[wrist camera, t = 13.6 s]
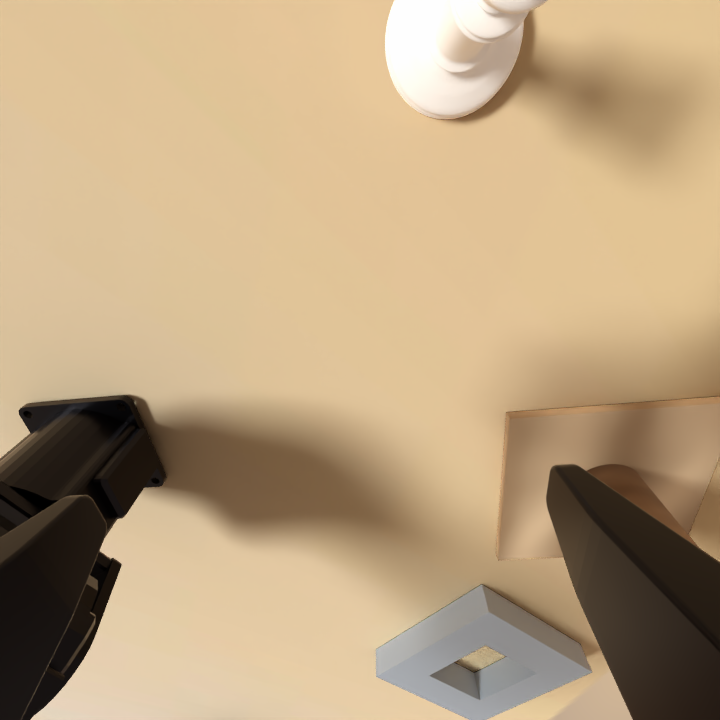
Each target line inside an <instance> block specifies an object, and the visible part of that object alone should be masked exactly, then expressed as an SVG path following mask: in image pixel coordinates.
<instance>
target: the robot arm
mask: <svg viewBox="0 0 720 720" xmlns="http://www.w3.org/2000/svg"><path fill="white" fill-rule="evenodd" d="M121 404H123V405H125V407H124V406H122V405H121ZM19 415H20V417H21V418H22V420H23V421H24V423H25V425H26V426H27V428H28V430H29V431H30V434H29V435H28V436H27V437H25V438H24V439H23V440H22V441H21V442H19V443H18V444H17V445H16V446H15V447H13V448H12V449H11V450H10V451H9V452H7V453H6V454H5V455H4V456H3V457H2V458H0V720H30V719H31V718H32V717H33V716H34V715H35V714H36V713H38V712H39V711H40V710H41V709H43V708H44V707H45V706H46V705H47V704H48V703H49V702H50V701H51V700H52V699H53V698H54V697H55V696H56V695H57V694H58V692H59V691H60V690H61V689H62V688H63V687H64V686H65V684H66V683H67V682H68V680H69V679H70V678H71V677H72V675H73V674H74V673H75V671H76V670H77V668H78V667H79V665H80V664H81V662H82V661H83V659H84V657H85V655H86V654H87V652H88V650H89V648H90V646H91V644H92V642H93V640H94V637H95V635H96V632H97V630H98V627H99V624H100V622H101V619H102V616H103V613H104V611H105V608H106V605H107V603H108V600H109V597H110V595H111V592H112V589H113V587H114V584H115V581H116V579H117V576H118V573H119V571H120V568H121V565H122V564H121V563H120V562H118V561H117V560H115V559H114V558H111V559H110V558H109V557H107V556H106V555H105V554H103V553H102V552H100V551H99V550H100V548H101V545H102V543H103V540H104V538H105V537H106V535H107V534H108V532H109V531H110V529H111V528H112V526H113V525H114V523H115V522H116V520H117V519H119V518H123V517H124V516H125V515H126V514H127V512H128V511H129V509H130V508H131V506H132V505H133V503H134V502H135V500H136V499H137V497H138V496H139V494H140V493H141V491H142V490H143V488H145V487H159V486H162V485H163V483H164V482H165V480H166V474H165V472H164V470H163V467H162V465H161V463H160V461H159V458H158V456H157V454H156V452H155V449H154V447H153V445H152V443H151V440H150V438H149V436H148V434H147V432H146V429H145V427H144V425H143V423H142V420H141V418H140V416H139V414H138V411H137V409H136V407H135V405H134V402H133V401H132V400H131V399H130V398H129V397H126V396H111V397H99V398H87V399H75V400H63V401H51V402H39V403H28V404H26V405H24V406H23V407H22V408H20V410H19ZM546 504H547V509H548V512H549V515H550V518H551V521H552V524H553V527H554V530H555V533H556V536H557V539H558V542H559V545H560V548H561V551H562V554H563V557H564V560H565V563H566V566H567V569H568V572H569V575H570V578H571V581H572V584H573V586H574V589H575V592H576V594H577V597H578V599H579V601H580V604H581V606H582V608H583V611H584V613H585V615H586V617H587V620H588V622H589V624H590V626H591V628H592V631H593V633H594V635H595V637H596V639H597V642H598V644H599V646H600V648H601V650H602V653H603V655H604V657H605V659H606V661H607V664H608V666H609V668H610V670H611V673H612V675H613V677H614V679H615V681H616V683H617V686H618V688H619V690H620V692H621V695H622V697H623V699H624V701H625V703H626V706H627V708H628V710H629V712H630V714H631V717H632V719H633V720H720V562H719V561H717V560H716V559H714V558H713V557H711V556H710V555H709V554H707V553H706V552H704V551H703V550H701V549H700V548H698V547H697V546H695V545H694V544H692V543H691V542H690V541H688V540H687V539H685V538H684V537H682V536H681V535H679V534H678V533H676V532H675V531H673V530H672V529H671V528H669V527H668V526H666V525H665V524H663V523H662V522H660V521H659V520H657V519H656V518H654V517H653V516H652V515H650V514H649V513H647V512H646V511H644V510H643V509H641V508H640V507H638V506H637V505H635V504H634V503H633V502H631V501H630V500H628V499H627V498H625V497H624V496H622V495H621V494H619V493H618V492H616V491H615V490H614V489H612V488H611V487H609V486H608V485H606V484H605V483H603V482H602V481H600V480H599V479H597V478H596V477H595V476H593V475H592V474H590V473H589V472H587V471H586V470H584V469H583V468H581V467H580V466H578V465H576V464H561V465H554V466H552V468H551V469H550V474H549V480H548V487H547V494H546Z"/></svg>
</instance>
